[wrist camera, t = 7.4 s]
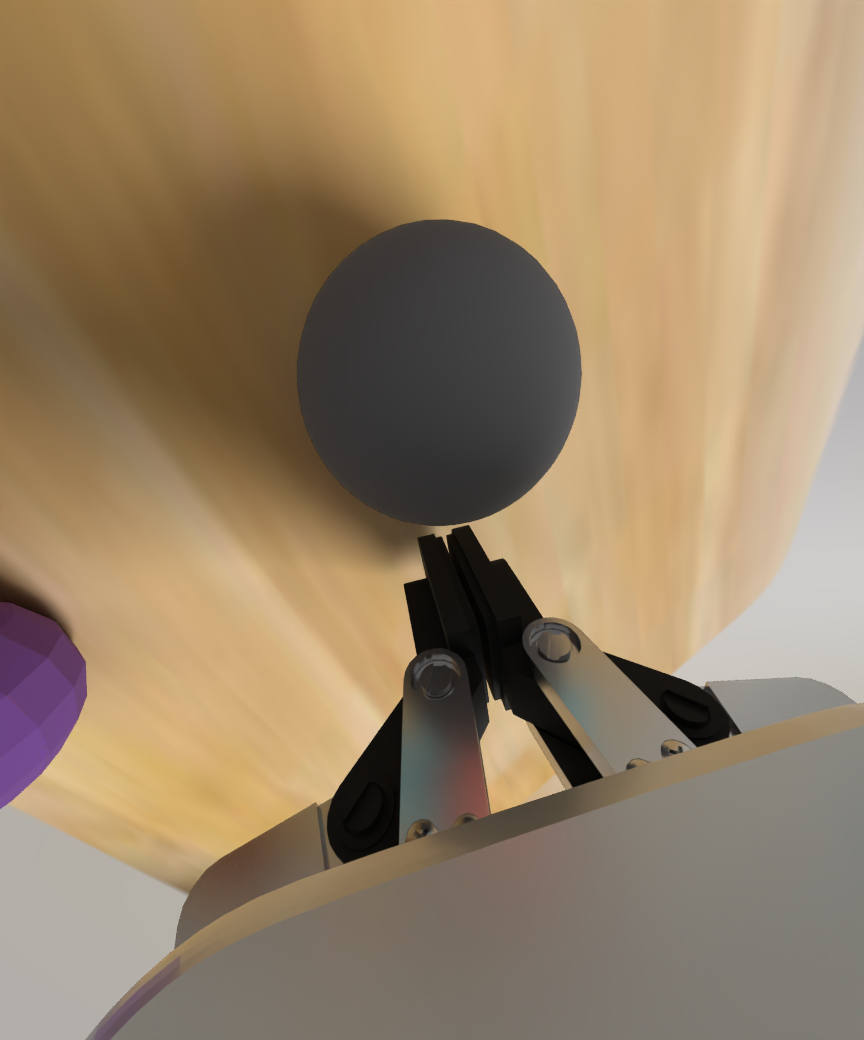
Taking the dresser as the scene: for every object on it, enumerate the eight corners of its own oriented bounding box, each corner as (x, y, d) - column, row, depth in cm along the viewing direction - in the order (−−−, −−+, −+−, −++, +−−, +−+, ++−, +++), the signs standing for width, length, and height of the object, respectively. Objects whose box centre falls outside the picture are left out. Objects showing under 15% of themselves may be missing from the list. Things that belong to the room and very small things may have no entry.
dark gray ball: (744, 221, 4) (522, 191, 7) (198, 295, 3) (256, 220, 7) (593, 544, 8) (499, 420, 11) (350, 606, 7) (334, 452, 11)
